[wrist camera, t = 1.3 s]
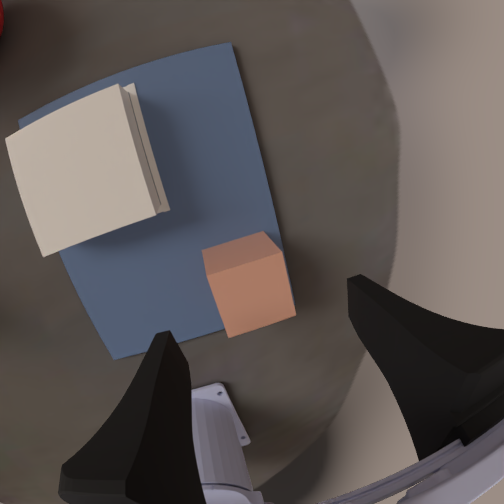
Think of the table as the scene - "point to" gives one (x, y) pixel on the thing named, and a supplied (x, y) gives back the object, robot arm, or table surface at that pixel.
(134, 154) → the base block
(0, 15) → the apple
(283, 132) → the table surface
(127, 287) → the blueprint board
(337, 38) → the table surface
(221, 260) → the terracotta block
